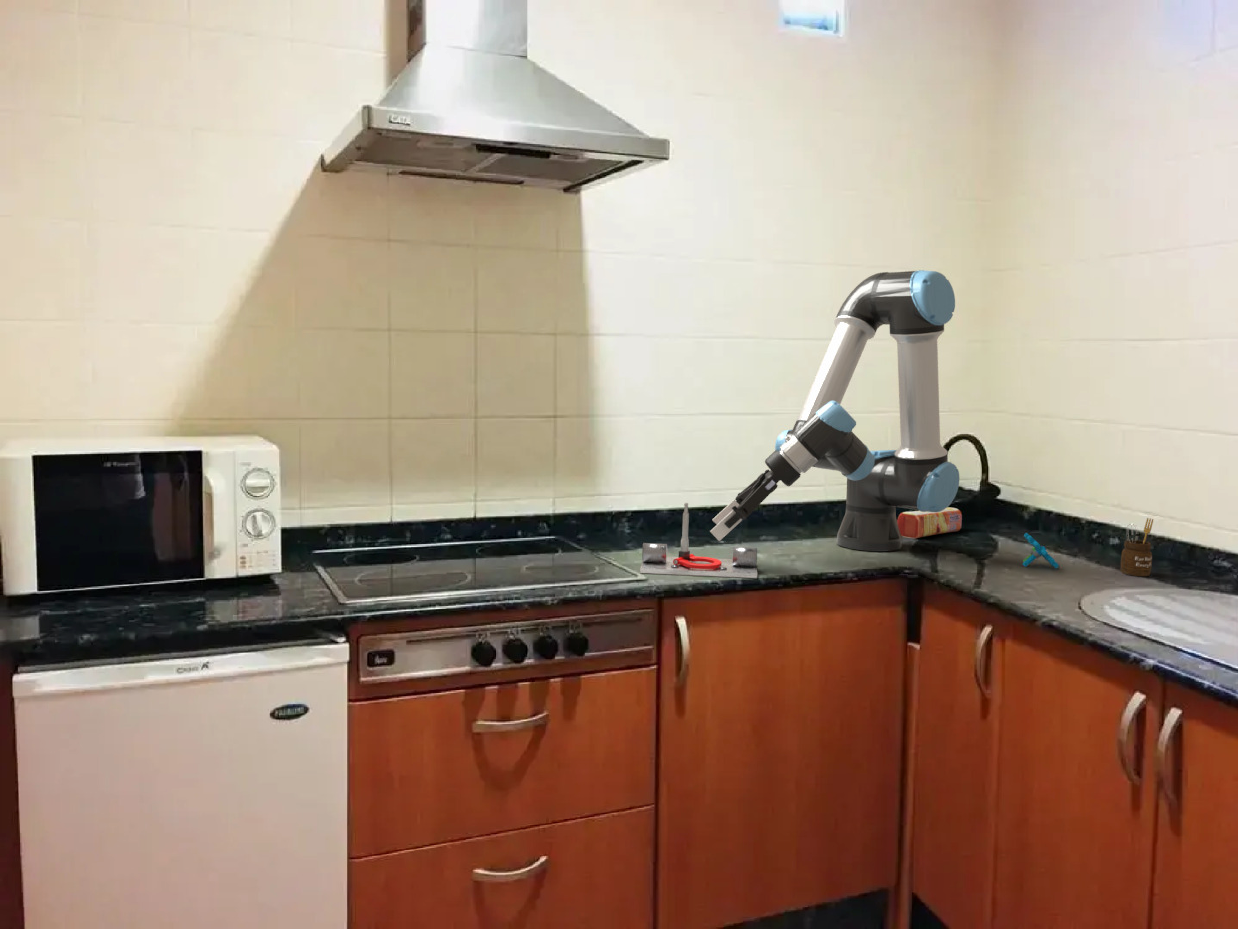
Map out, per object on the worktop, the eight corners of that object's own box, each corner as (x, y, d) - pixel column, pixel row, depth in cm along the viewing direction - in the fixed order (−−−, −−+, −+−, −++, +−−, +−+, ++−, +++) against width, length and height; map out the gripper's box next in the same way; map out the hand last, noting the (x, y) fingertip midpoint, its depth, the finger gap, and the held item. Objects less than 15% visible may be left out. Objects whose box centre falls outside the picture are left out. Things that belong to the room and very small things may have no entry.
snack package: (941, 528, 275) (942, 503, 274) (963, 532, 270) (965, 506, 269) (895, 536, 261) (896, 510, 260) (917, 540, 256) (919, 514, 255)
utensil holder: (1113, 572, 224) (1118, 517, 222) (1134, 570, 226) (1138, 516, 225) (1136, 577, 218) (1141, 522, 217) (1157, 575, 221) (1162, 520, 219)
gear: (1065, 566, 220) (1031, 531, 222) (1043, 584, 221) (1010, 549, 223) (1057, 563, 231) (1025, 529, 233) (1036, 580, 232) (1004, 546, 234)
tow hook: (728, 566, 216) (691, 559, 222) (731, 505, 215) (693, 500, 220) (708, 573, 210) (670, 566, 215) (711, 510, 208) (672, 505, 213)
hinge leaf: (644, 560, 225) (645, 537, 225) (755, 564, 223) (756, 542, 222) (640, 573, 212) (640, 549, 212) (757, 578, 210) (758, 554, 209)
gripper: (775, 442, 225) (705, 507, 229) (779, 455, 201) (700, 528, 205) (799, 467, 226) (729, 531, 229) (805, 482, 201) (726, 555, 205)
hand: (715, 530), depth 217 cm, fingers open, 13 cm apart
